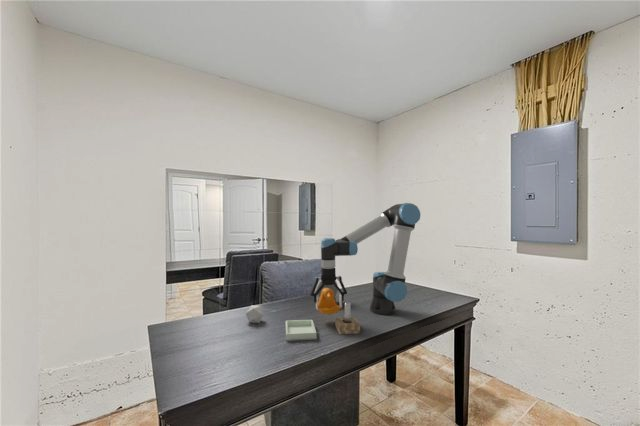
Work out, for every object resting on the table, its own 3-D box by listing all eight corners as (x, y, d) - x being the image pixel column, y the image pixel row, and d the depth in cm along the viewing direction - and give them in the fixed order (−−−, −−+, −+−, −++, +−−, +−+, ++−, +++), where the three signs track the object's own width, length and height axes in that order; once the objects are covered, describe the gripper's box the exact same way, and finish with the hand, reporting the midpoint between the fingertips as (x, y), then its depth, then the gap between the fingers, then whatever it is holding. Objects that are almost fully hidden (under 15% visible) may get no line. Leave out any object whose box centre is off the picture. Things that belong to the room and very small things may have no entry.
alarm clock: (331, 299, 185) (331, 272, 186) (340, 303, 177) (340, 275, 177) (310, 303, 177) (311, 274, 177) (318, 307, 168) (319, 277, 168)
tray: (312, 325, 140) (312, 319, 140) (316, 339, 124) (316, 332, 124) (285, 326, 138) (285, 320, 138) (286, 340, 122) (286, 334, 122)
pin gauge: (349, 328, 138) (350, 302, 138) (351, 330, 134) (351, 304, 135) (343, 328, 137) (343, 302, 137) (344, 330, 134) (345, 304, 134)
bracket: (323, 315, 140) (323, 292, 140) (317, 311, 147) (316, 288, 147) (341, 312, 145) (341, 289, 145) (334, 308, 151) (334, 286, 152)
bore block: (354, 325, 141) (354, 317, 142) (359, 333, 132) (360, 324, 132) (335, 325, 140) (335, 318, 140) (339, 334, 130) (339, 325, 130)
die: (266, 320, 148) (258, 303, 151) (267, 317, 140) (259, 299, 144) (251, 328, 144) (243, 310, 148) (251, 325, 137) (243, 307, 140)
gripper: (348, 265, 152) (349, 304, 151) (305, 267, 148) (305, 307, 148) (352, 267, 144) (353, 308, 144) (306, 269, 141) (306, 311, 140)
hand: (328, 307), depth 146 cm, fingers closed on bracket, 12 cm apart
